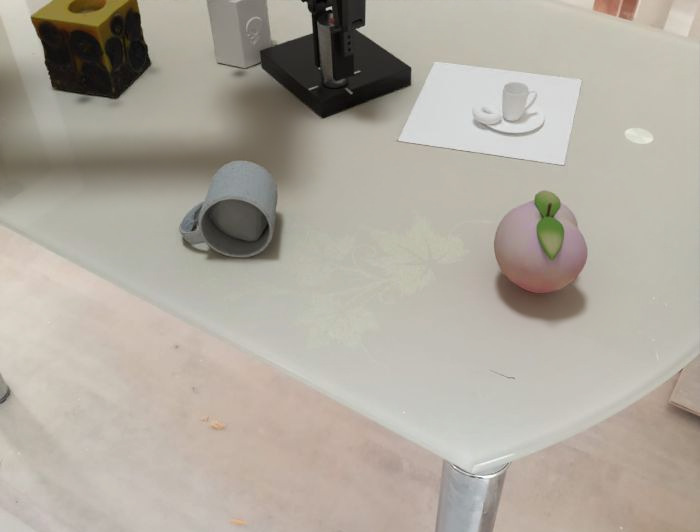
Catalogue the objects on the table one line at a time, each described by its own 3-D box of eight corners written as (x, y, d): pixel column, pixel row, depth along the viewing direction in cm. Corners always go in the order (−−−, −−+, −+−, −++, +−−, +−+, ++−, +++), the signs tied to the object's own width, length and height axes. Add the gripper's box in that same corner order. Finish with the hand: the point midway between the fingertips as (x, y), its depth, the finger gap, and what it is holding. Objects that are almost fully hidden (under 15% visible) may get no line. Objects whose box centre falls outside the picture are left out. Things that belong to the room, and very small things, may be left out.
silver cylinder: (315, 79, 100) (311, 15, 94) (339, 70, 101) (336, 7, 95) (330, 91, 98) (327, 27, 92) (354, 82, 99) (352, 18, 93)
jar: (232, 75, 106) (218, -14, 97) (203, 52, 111) (187, -35, 102) (286, 54, 110) (278, -33, 101) (256, 33, 114) (246, -53, 105)
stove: (261, 67, 107) (259, 49, 105) (346, 38, 112) (345, 20, 110) (325, 121, 98) (324, 102, 96) (415, 87, 102) (415, 69, 100)
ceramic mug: (282, 209, 86) (274, 149, 80) (277, 258, 81) (267, 198, 75) (188, 212, 87) (173, 153, 81) (176, 260, 81) (160, 201, 75)
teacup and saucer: (467, 130, 95) (470, 100, 92) (479, 97, 100) (483, 67, 97) (539, 140, 93) (544, 110, 90) (548, 106, 98) (553, 76, 95)
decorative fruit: (481, 256, 80) (491, 176, 72) (559, 250, 80) (577, 170, 73) (499, 321, 74) (512, 241, 66) (584, 315, 74) (606, 234, 66)
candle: (51, 89, 105) (26, 17, 98) (90, 54, 111) (69, -17, 104) (116, 100, 103) (96, 27, 95) (153, 63, 109) (136, -8, 101)
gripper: (399, -127, 77) (396, 88, 95) (313, -166, 87) (325, 36, 104) (336, -110, 75) (345, 107, 92) (254, -152, 84) (276, 52, 102)
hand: (334, 69), depth 98 cm, fingers closed on silver cylinder, 4 cm apart
